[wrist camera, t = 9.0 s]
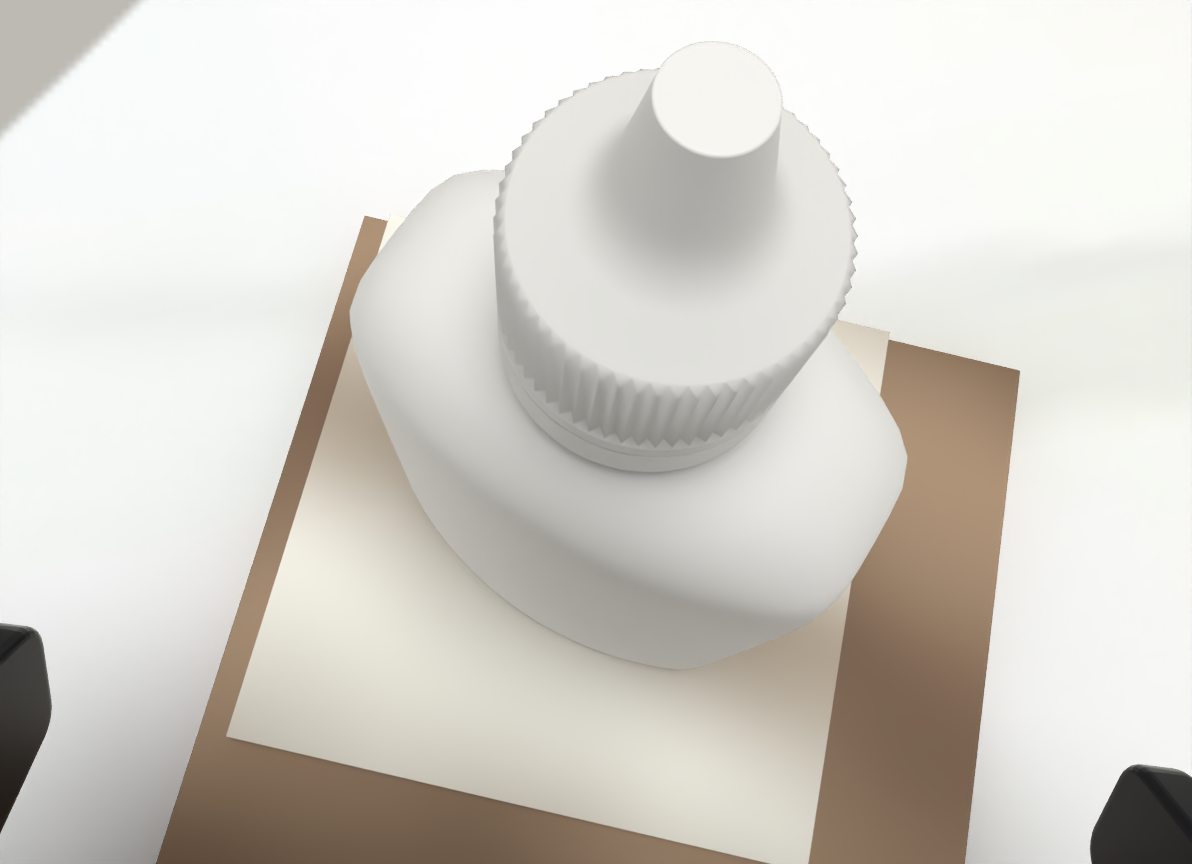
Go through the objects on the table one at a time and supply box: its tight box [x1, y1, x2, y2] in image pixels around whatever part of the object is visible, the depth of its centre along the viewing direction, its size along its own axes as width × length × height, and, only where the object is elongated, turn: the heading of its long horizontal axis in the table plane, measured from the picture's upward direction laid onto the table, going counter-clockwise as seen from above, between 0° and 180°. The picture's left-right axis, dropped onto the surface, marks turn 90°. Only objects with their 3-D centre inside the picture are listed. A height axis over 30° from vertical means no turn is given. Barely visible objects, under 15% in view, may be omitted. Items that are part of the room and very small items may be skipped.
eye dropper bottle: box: [349, 41, 907, 670], centre depth 11 cm, size 4×6×12 cm
